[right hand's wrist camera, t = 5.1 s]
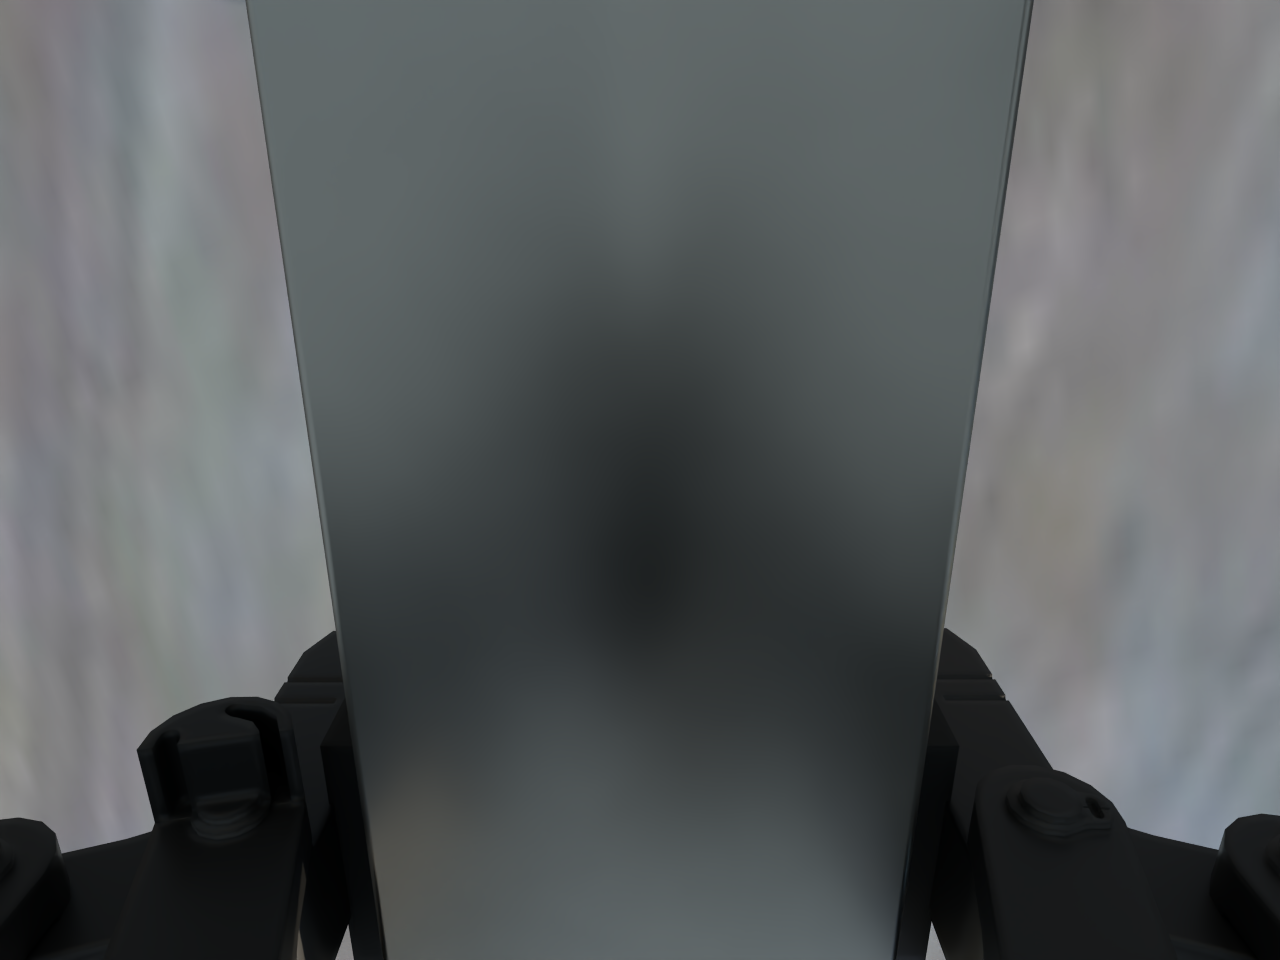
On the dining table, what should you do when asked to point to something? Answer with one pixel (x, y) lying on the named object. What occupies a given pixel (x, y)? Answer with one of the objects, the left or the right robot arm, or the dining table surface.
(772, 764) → the bar
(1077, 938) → the right robot arm
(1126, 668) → the dining table surface
